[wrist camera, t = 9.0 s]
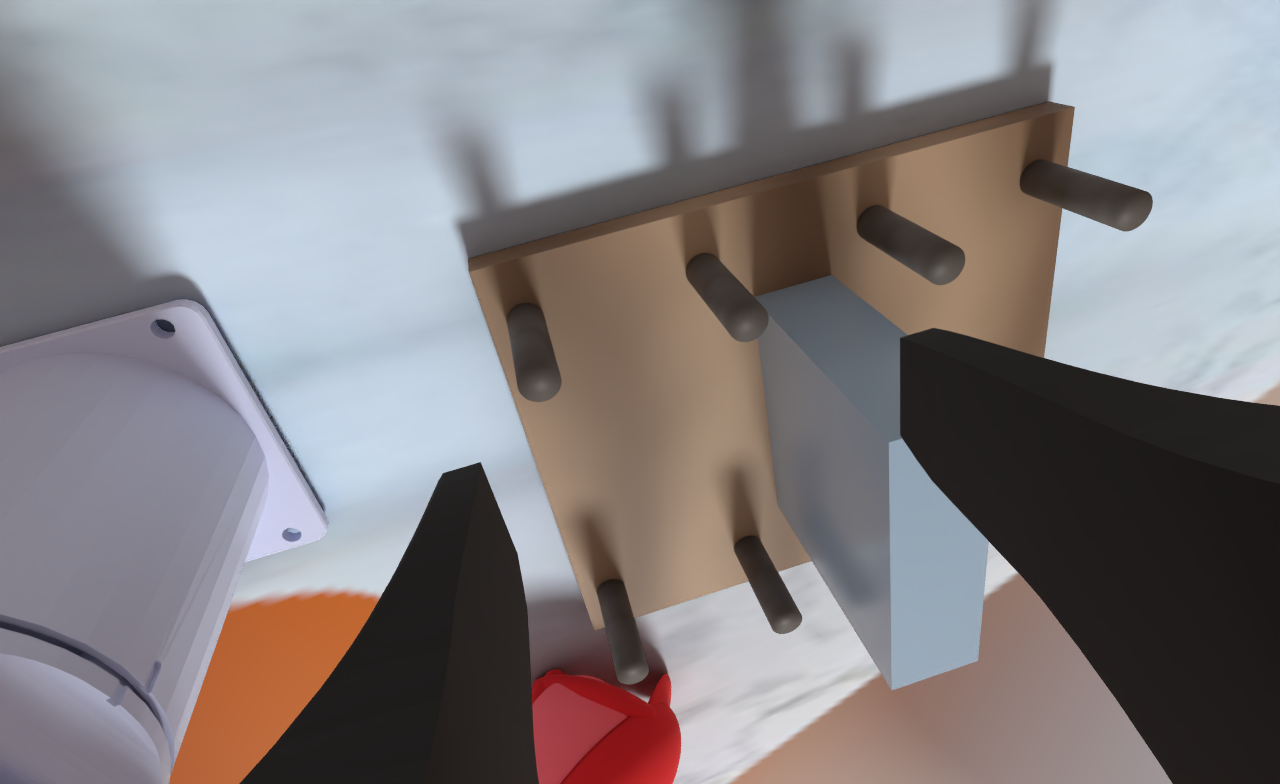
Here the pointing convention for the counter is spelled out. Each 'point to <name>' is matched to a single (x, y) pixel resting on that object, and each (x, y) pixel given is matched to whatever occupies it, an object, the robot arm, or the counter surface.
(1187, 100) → the counter surface
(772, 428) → the tile
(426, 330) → the counter surface
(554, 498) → the rack
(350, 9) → the counter surface
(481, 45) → the counter surface
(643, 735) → the red toy figurine
